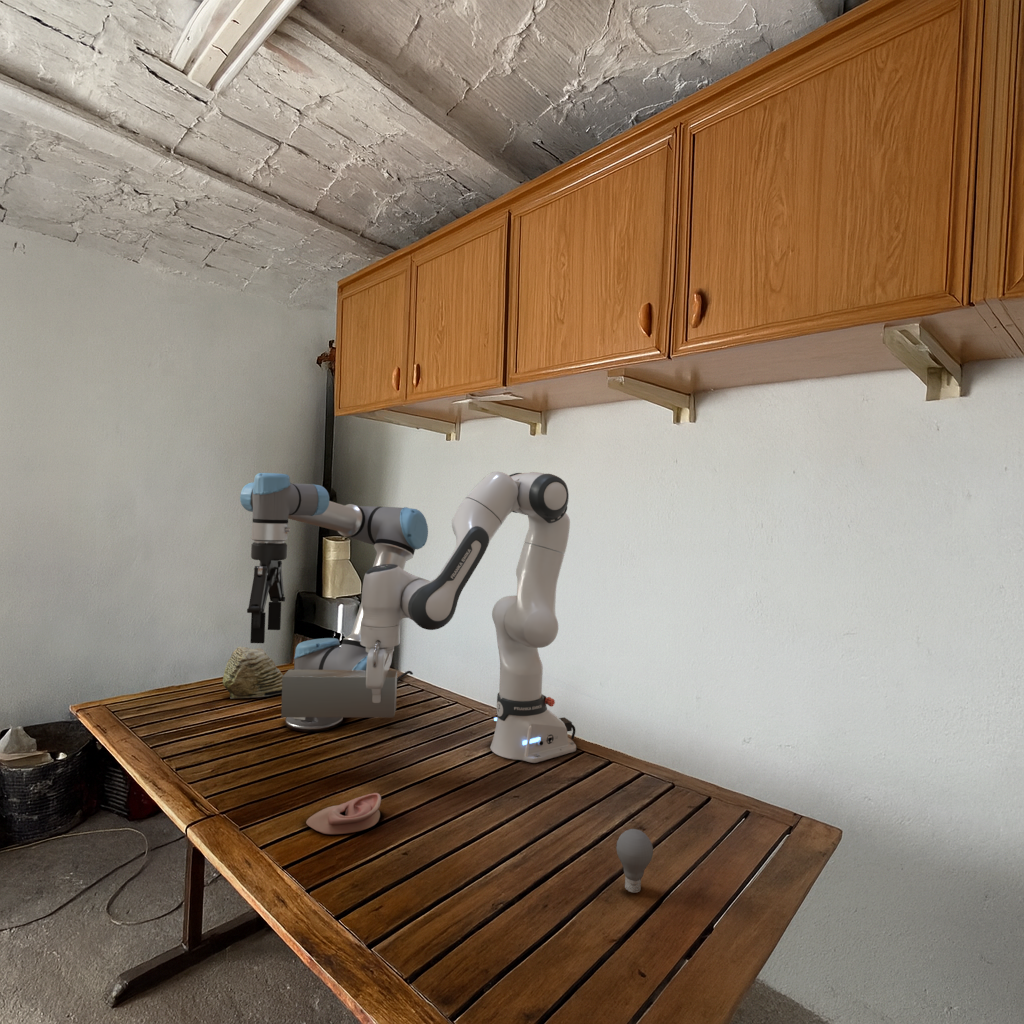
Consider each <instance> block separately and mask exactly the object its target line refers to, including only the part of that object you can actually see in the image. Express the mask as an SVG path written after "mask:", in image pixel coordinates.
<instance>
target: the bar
mask: <svg viewBox="0 0 1024 1024" xmlns="http://www.w3.org/2000/svg"><path fill="white" fill-rule="evenodd" d="M282 675H283V677H282V693H281V712H280V717H281V718H286V717H343V718H395V714H396V710H397V694H398V693H397V691H398V682H397V678H398V670H393V669H392V670H390V669H389V670H388V673H387V676H386V679H385V682H384V685H383V688H381V701H380V703H373V702H372V690H371V689H367V688H366V670H294V669H288V670H287V671H286V672H285V673H284V674H282Z"/></svg>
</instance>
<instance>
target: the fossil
mask: <svg viewBox="0 0 1024 1024" xmlns="http://www.w3.org/2000/svg"><path fill="white" fill-rule="evenodd" d="M283 675H284V674H283V673H282V672H281V669H279V668H278V667H277V665H276V663H275V662H274V660H273V659H272V658H271V657H270V656H269V655H268V654H267V653H266V652H265V650H264V649H263V648H260V647H258V648H251V647H247V646H246V647H245V646H238V647H237V648H236V649H235V650H233V651H232V653H231V656H230V657H229V659H228V660H227V663H226V666H225V668H224V671H223V675H222V676H223V677H222V685H223V687H224V688H225V690H226V691H228V693H229V698H230V699H250V698H264V697H271V696H275V695H281V694H282V677H283Z"/></svg>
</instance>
